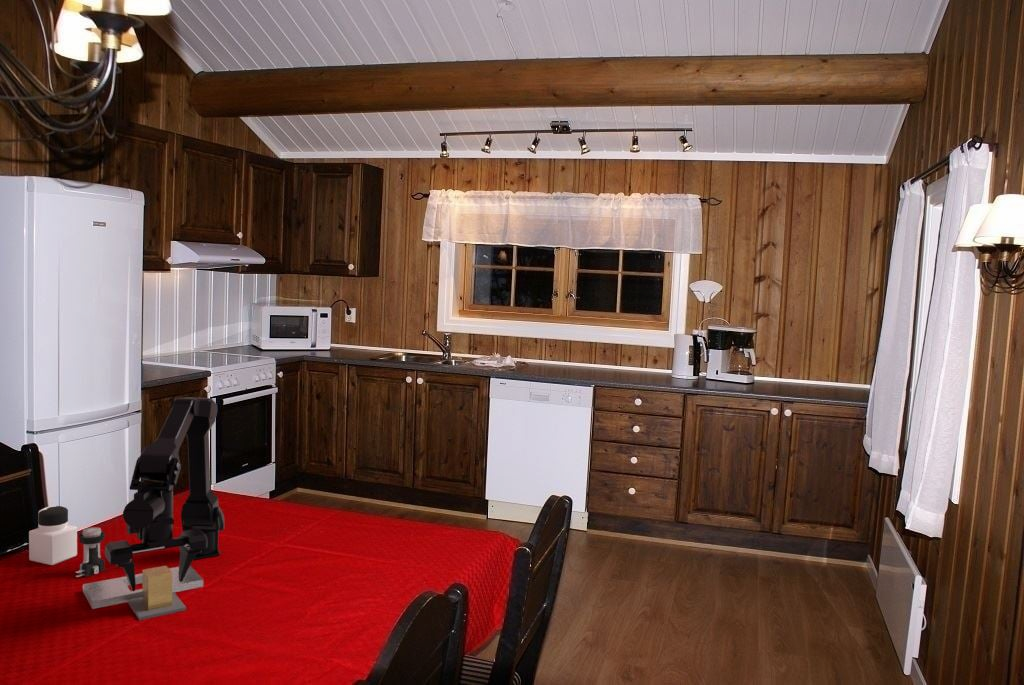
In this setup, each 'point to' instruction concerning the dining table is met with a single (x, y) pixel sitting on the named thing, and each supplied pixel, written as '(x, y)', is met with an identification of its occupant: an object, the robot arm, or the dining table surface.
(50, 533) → the medicine bottle
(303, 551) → the dining table surface
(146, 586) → the brass block
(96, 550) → the push button
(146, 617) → the pad
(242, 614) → the dining table surface
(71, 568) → the dining table surface
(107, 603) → the rail
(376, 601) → the dining table surface
